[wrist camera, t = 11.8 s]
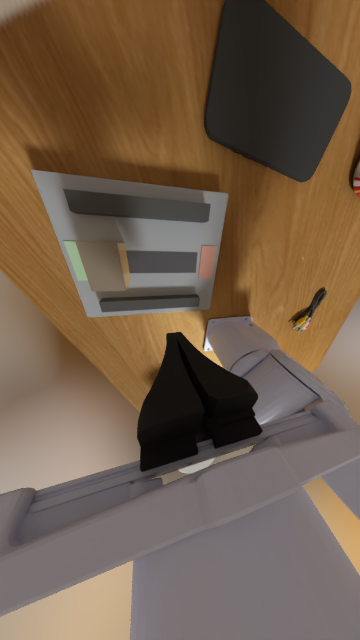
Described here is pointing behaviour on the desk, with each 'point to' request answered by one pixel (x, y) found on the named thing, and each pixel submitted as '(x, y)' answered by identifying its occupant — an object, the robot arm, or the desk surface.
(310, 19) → the desk surface
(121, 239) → the grey base plate
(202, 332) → the desk surface
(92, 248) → the lever
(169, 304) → the dark gray raised rails
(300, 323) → the composite cable
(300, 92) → the phone
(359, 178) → the soda can
